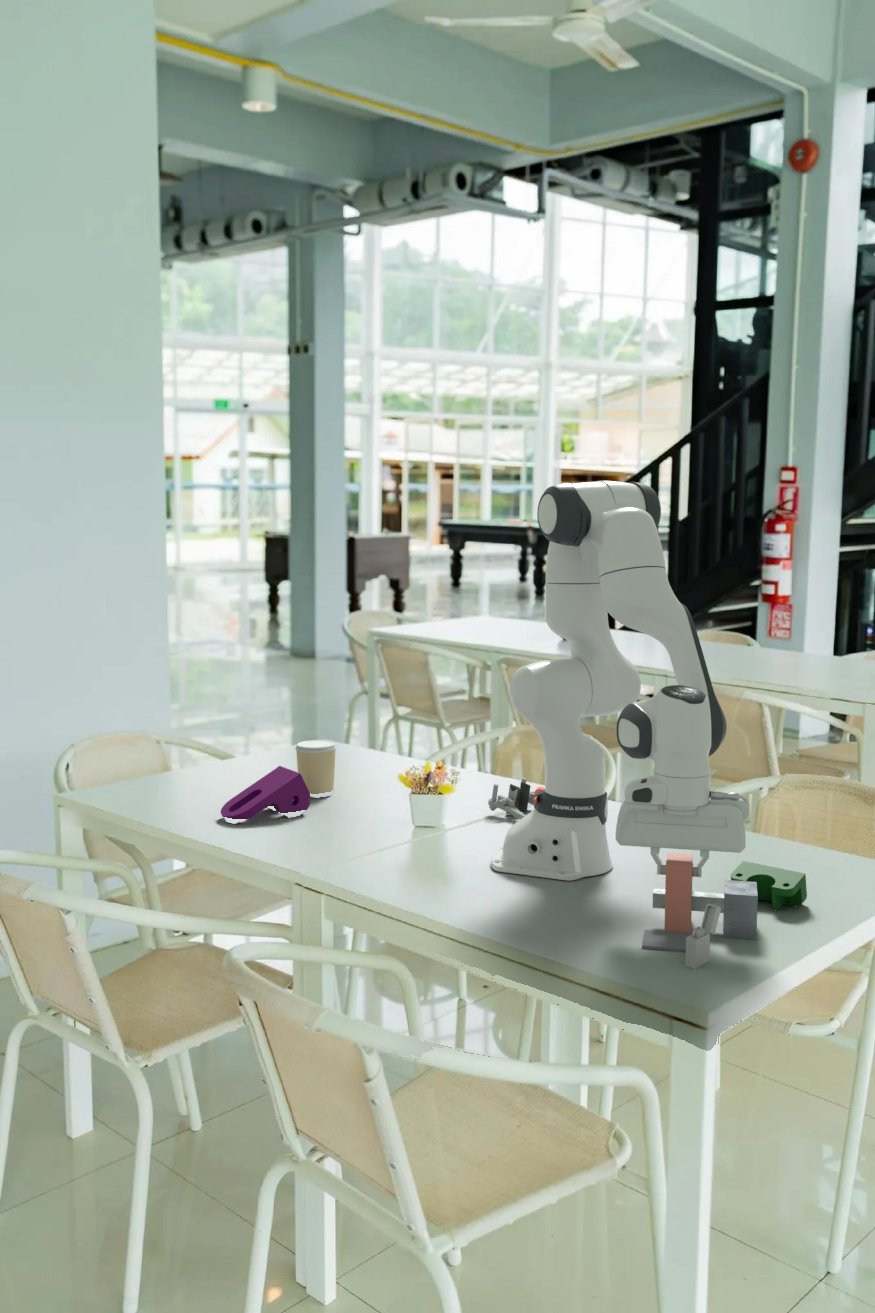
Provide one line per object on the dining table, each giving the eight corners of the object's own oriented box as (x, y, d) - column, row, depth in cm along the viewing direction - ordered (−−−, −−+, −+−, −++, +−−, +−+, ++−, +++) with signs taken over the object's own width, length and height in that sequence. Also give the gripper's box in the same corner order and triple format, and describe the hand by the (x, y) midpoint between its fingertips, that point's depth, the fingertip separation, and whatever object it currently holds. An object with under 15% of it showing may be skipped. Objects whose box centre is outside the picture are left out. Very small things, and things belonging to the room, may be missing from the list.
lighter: (695, 969, 172) (696, 915, 171) (684, 966, 174) (686, 913, 172) (719, 955, 178) (721, 903, 176) (709, 952, 179) (711, 901, 178)
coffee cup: (320, 787, 283) (319, 738, 282) (344, 794, 277) (344, 743, 275) (288, 794, 277) (287, 743, 276) (312, 801, 270) (311, 749, 269)
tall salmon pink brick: (664, 932, 187) (665, 864, 186) (666, 918, 193) (667, 852, 192) (690, 934, 186) (692, 866, 185) (691, 920, 192) (692, 854, 191)
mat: (642, 948, 180) (642, 945, 180) (644, 932, 187) (644, 929, 187) (689, 952, 179) (689, 949, 179) (690, 935, 186) (690, 933, 185)
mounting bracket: (249, 852, 251) (315, 805, 260) (232, 820, 248) (300, 773, 256) (229, 842, 259) (294, 796, 267) (213, 810, 256) (279, 765, 264)
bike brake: (480, 812, 257) (550, 844, 244) (484, 782, 256) (555, 813, 242) (521, 802, 267) (591, 832, 253) (525, 773, 265) (596, 802, 252)
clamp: (742, 926, 202) (719, 878, 202) (757, 909, 207) (734, 862, 206) (803, 916, 194) (779, 866, 194) (817, 898, 198) (793, 850, 198)
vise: (651, 931, 187) (652, 888, 187) (653, 916, 194) (654, 875, 193) (756, 939, 184) (757, 896, 183) (755, 924, 190) (756, 882, 190)
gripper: (749, 788, 188) (746, 873, 189) (618, 782, 192) (617, 864, 194) (749, 798, 182) (747, 885, 183) (615, 791, 186) (613, 876, 188)
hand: (679, 875), depth 189 cm, fingers closed on tall salmon pink brick, 4 cm apart
